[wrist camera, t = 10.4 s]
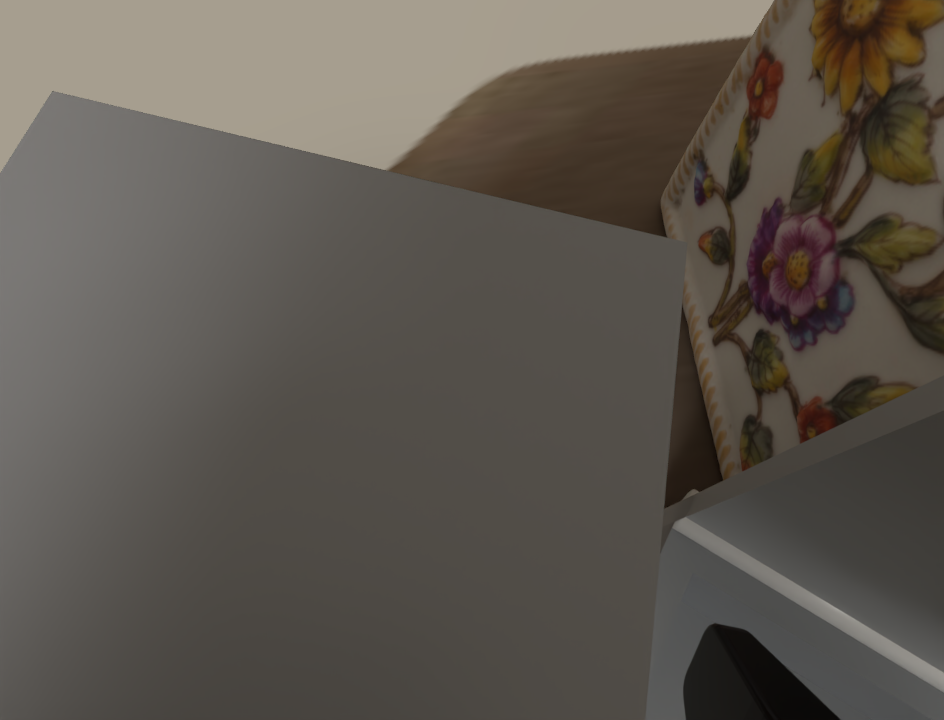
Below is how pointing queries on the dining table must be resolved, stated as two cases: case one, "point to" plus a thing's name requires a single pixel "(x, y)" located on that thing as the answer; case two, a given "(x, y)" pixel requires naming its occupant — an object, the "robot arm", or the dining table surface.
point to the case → (820, 566)
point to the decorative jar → (816, 223)
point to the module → (319, 437)
